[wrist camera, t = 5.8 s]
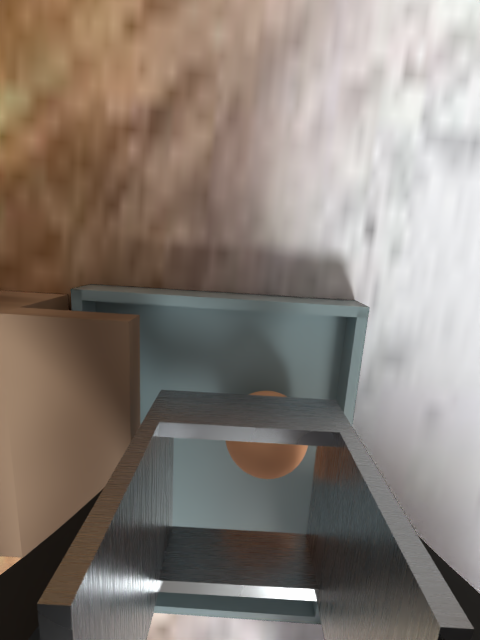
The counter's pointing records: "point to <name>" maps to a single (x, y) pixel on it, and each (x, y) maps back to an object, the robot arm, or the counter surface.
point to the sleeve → (250, 535)
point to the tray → (238, 378)
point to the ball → (266, 454)
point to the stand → (60, 410)
